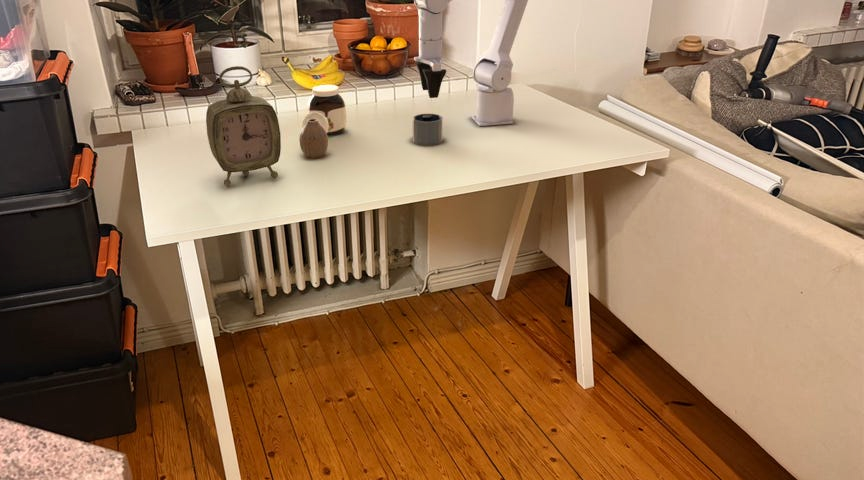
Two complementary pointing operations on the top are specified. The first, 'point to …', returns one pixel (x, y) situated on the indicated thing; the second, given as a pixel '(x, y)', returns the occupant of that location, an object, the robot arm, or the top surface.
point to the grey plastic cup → (427, 130)
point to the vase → (313, 139)
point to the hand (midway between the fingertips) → (430, 93)
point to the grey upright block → (427, 118)
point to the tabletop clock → (243, 131)
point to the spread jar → (327, 109)
